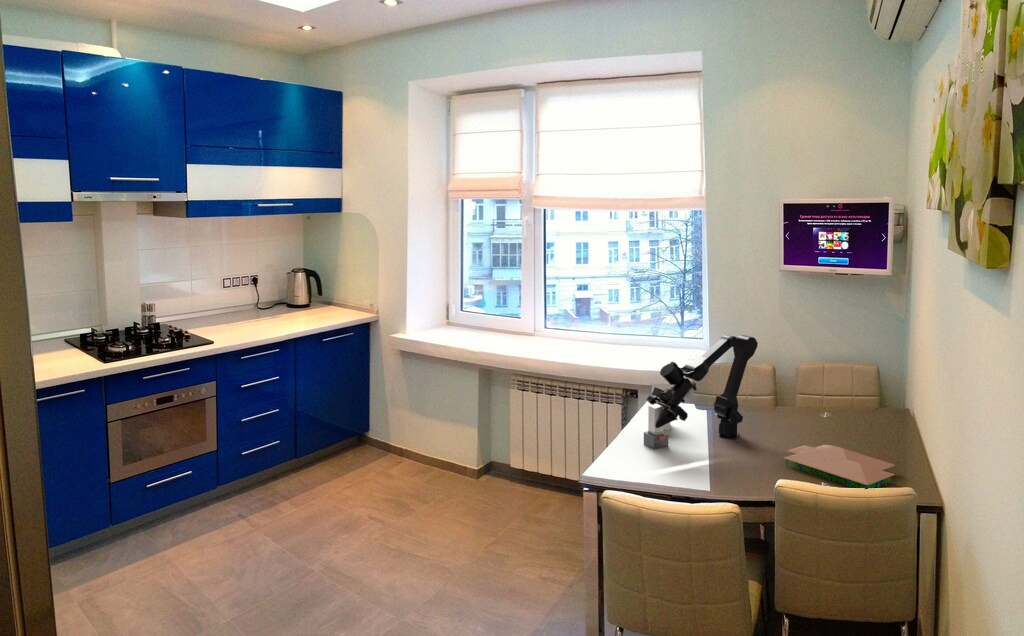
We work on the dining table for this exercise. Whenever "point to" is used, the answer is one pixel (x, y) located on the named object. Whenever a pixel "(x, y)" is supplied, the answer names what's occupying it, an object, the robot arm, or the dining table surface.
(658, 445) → the stand
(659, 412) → the post
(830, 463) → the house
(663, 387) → the milk carton
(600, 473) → the dining table surface
